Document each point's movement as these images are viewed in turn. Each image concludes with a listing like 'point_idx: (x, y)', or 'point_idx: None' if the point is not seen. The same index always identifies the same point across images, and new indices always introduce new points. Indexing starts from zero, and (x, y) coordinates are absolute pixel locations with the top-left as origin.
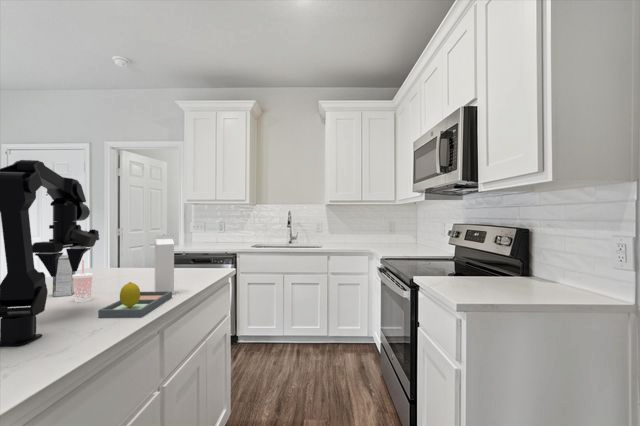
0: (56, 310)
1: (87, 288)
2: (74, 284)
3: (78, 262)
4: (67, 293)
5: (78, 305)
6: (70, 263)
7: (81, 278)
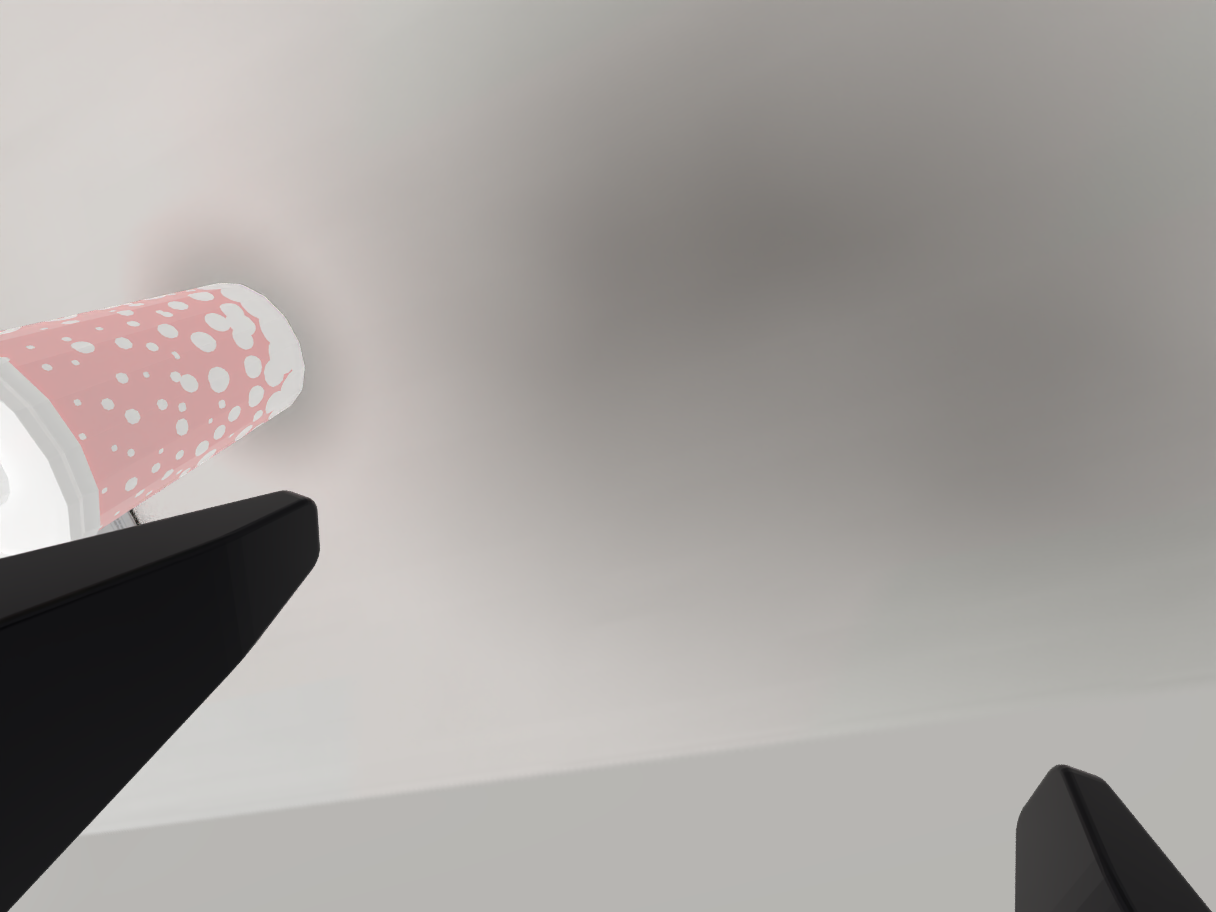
0: (581, 464)
1: (155, 334)
2: (157, 485)
3: (93, 581)
4: (117, 526)
5: (418, 324)
6: (165, 730)
7: (78, 442)
